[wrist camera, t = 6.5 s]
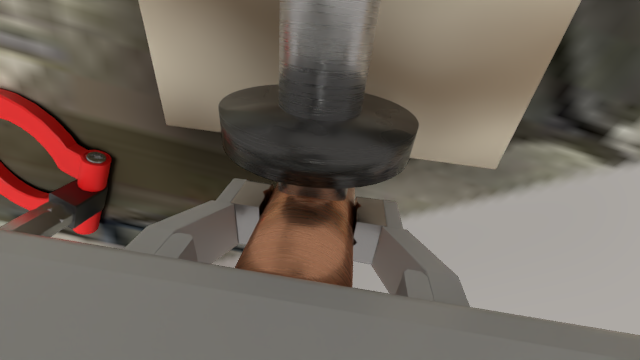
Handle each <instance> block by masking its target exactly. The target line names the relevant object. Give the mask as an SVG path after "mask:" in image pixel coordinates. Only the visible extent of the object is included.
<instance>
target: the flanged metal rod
mask: <svg viewBox="0 0 640 360" xmlns="http://www.w3.org/2000/svg"><path fill="white" fill-rule="evenodd" d="M380 2H381V0H280V13H279V84H277V85H264V86H257V87H251V88H246V89H242V90H239V91H236V92H233V93H231V94H229V95H227V96H226V97H224V98H223V99H222V100H221V101H220V103H219V105H218V108H219V118H220V126H221V135H222V144H223V148H224V150H225V152H226V154H227V155H228V156H229V158H230V159H232V160H233V161H234V162H235V163H236V164H238V165H239V166H241V167H242V168H244V169H246V170H248V171H250V172H252V173H254V174H256V175H259V176H261V177H264V178H267V179H270V180H273V181H277V182H278V183H277V185H276V187H275V189H274V191H273V193H272V195H271V197H270V199H269V201H268V203H267V205H266V207H265V209H264V211H263V213H262V215H261V217H260V219H259V221H258V223H257V225H256V227H255V229H254V231H253V233H252V235H251V237H250V239H249V241H248V243H247V245H246V246H245V248H244V250H243V252H242V254H241V256H240V258H239V260H238V262H237V264H236V266H235V268H237V269H243V270H249V271H255V272H262V273H268V274H274V275H280V276H286V277H292V278H298V279H304V280H310V281H316V282H322V283H328V284H334V285H340V286H346V287H352V278H353V237H354V196H355V187H363V186H368V185H372V184H377V183H380V182H383V181H386V180H388V179H390V178H392V177H394V176H396V175H397V174H399V173H400V172H401V171H402V170H403V169H404V168H405V167H406V165H407V163H408V161H409V158H410V154H411V151H412V148H413V144H414V141H415V138H416V134H417V131H418V128H419V122H418V120H417V118H416V117H415V116H414V115H413V114H412V113H411V112H410V111H409V110H407V109H406V108H404V107H402V106H400V105H398V104H396V103H394V102H392V101H389V100H386V99H384V98H381V97H378V96H374V95H371V94H367V93H365V88H366V82H367V77H368V71H369V65H370V59H371V54H372V48H373V42H374V36H375V31H376V25H377V19H378V14H379V8H380Z"/></svg>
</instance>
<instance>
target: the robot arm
mask: <svg viewBox="0 0 640 360" xmlns="http://www.w3.org/2000/svg"><path fill="white" fill-rule="evenodd" d="M273 191H274V186H273V184H269V183H263V182H257V181H251V180H245V179H238V178H235V179H233V180H232V181H231V182H230V183H229V185H228V186H227V187H226V188H225V190H224V191H223V192H222V193H221V195H220V196H219V197H218V198H217V200H216V201H213V200H211V201H209V202H206V203H204V204H201V205H199V206H196V207H194V208H191V209H189V210H186V211H184V212H182V213H179V214H177V215H174V216H172V217H169V218H167V219H164V220H162V221H159V222H157V223H154V224H152V225H149V226H147V227H146V228H145V229H144V230H143V231H142V232H141V233H140V234H139V235H138V236H137V237H136V238H134V239H133V240H132V241H131V242H130V243H129V244H128V245H127V246H126V247H125V248H124V249H117V248H111V247H105V246H99V245H93V244H87V243H81V242H75V241H69V240H63V239H57V238H51V237H45V236H39V235H33V234H27V233H21V232H15V231H9V230H3V229H0V360H640V335H635V334H629V333H623V332H617V331H610V330H605V329H599V328H593V327H587V326H581V325H575V324H569V323H562V322H556V321H550V320H545V319H539V318H532V317H526V316H521V315H514V314H509V313H502V312H497V311H490V310H485V309H479V308H473V307H470V306H469V303H468V301H467V299H466V295H465V293H464V290H463V288H462V285H461V283H460V280H459V278H458V276H457V275H456V274H455V273H454V272H453V271H451V270H450V269H449V268H448V267H447V266H446V265H445V264H444V263H443V262H441V260H439V259H438V258H437V257H436V256H435V255H434V254H433V253H432V252H431V251H430V250H428V249H427V248H426V247H425V246H424V245H423V244H422V243H421V242H420V241H419V240H418V239H416V238H415V237H414V236H413V235H412V234H411V233H410V232H409V231H408V230H404V229H403V227H402V222H401V218H400V213H399V209H398V204H397V202H396V201H389V200H379V199H371V198H363V197H356V200H355V204H354V237H353V261H356V262H361V263H366V264H371V265H372V267H373V268H374V270H375V272H376V273H377V275H378V276H379V278H380V279H381V281H382V282H383V284H384V286H385V287H386V289H387V290H388V292H389V293H390V294H388V293H382V292H375V291H370V290H363V289H358V288H352V287H346V286H340V285H334V284H328V283H322V282H316V281H310V280H304V279H298V278H292V277H286V276H280V275H274V274H268V273H262V272H255V271H249V270H243V269H237V268H231V267H225V266H219V265H213V264H212V263H213V262H214V261H216V260H217V259H218V258H220V257H221V256H223V255H224V254H225V253H227V252H228V251H229V250H231V249H232V248H234V247H235V246H236V245H238V243H241V244H247V243H248V241H249V239H250V237H251V235H252V233H253V231H254V229H255V227H256V225H257V223H258V221H259V219H260V217H261V215H262V213H263V211H264V209H265V207H266V205H267V203H268V201H269V199H270V197H271V195H272V193H273Z"/></svg>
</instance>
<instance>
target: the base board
mask: <svg viewBox="0 0 640 360" xmlns="http://www.w3.org/2000/svg"><path fill="white" fill-rule="evenodd" d="M138 1H139V5H140V10H141V14H142V18H143V23H144V27H145V32H146V36H147V41H148V45H149V49H150V54H151V58H152V63H153V67H154V72H155V76H156V81H157V85H158V89H159V94H160V98H161V103H162V107H163V112H164V116H165V120H166V125H171V126H178V127H185V128H193V129H200V130H208V131H215V132H221V126H220V118H219V108H218V105H219V103H220V101H221V100H222V99H223V98H224V97H226V96H227V95H229V94H231V93H233V92H236V91H239V90H242V89H246V88H251V87H257V86H264V85H277V84H279V13H280V0H138ZM580 2H581V0H381V2H380V8H379V14H378V19H377V25H376V31H375V36H374V42H373V48H372V54H371V59H370V65H369V71H368V77H367V82H366V88H365V93H367V94H371V95H374V96H378V97H381V98H384V99H386V100H389V101H392V102H394V103H396V104H398V105H400V106H402V107H404V108H406V109H407V110H409V111H410V112H411V113H412V114H413V115H414V116H415V117H416V118H417V120H418V122H419V128H418V131H417V134H416V138H415V141H414V144H413V148H412V151H411V154H410V158H415V159H422V160H429V161H437V162H444V163H451V164H459V165H466V166H474V167H481V168H488V169H496V168H497V166H498V164H499V162H500V160H501V158H502V156H503V154H504V152H505V150H506V148H507V146H508V144H509V142H510V140H511V138H512V136H513V134H514V132H515V130H516V128H517V126H518V124H519V123H520V121H521V119H522V117H523V115H524V113H525V111H526V109H527V107H528V105H529V103H530V101H531V99H532V97H533V95H534V93H535V91H536V89H537V87H538V85H539V83H540V81H541V79H542V77H543V75H544V73H545V71H546V69H547V67H548V65H549V63H550V61H551V59H552V57H553V55H554V53H555V51H556V49H557V47H558V45H559V43H560V41H561V39H562V37H563V35H564V34H565V32H566V30H567V28H568V26H569V24H570V22H571V20H572V18H573V16H574V14H575V12H576V10H577V8H578V6H579V4H580Z"/></svg>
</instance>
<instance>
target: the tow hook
mask: <svg viewBox="0 0 640 360" xmlns="http://www.w3.org/2000/svg"><path fill="white" fill-rule="evenodd" d="M0 118H1V119H5V120H8V121H10V122H12V123H14V124H16V125H18V126H20V127H21V128H22V129H24V130H25V131H27V132H28V133H29V134H31V135H32V136H33V137H34V138H35V139H36V140H37V141H38V142H39V143H41V144H42V145H43V146H44V147H45V149H46V150H47V151H48V153H49V154H50V155H51V156H52V158H53V159H54V161H55V163H56V165H57V166H58V168H59V169H60V170H62V171H63V172H65V173H67V174H69V175H71V176H72V177H74V178H76V179H77V180H75V181H73V182H71V183H69V184H67V185H65V186H63V187H61V188H59V189H57V190H55V191H53V192H51V193H45V192H42V191H39V190H37V189H35V188H33V187H31V186H29V185H27V184H26V183H24V182H23V181H21V180H20V179H18V178H17V177H16V176H15V175H14V174H12V173H11V172H10V171H9V170H8V169H7V168H6V167H5V166H4V165H3V164H2V162H1V161H0V194H1V195H3V196H5V197H6V198H8V199H9V200H11V201H12V202H14V203H15V204H18V205H20V206H22V207H24V208H26V209H28V210H30V211H29V212H27V213H25V214H23V215H22V216H20V217H18V218H16V219H14V220H12V221H10V222H8V223H6V224H4V225H3V226H1V227H0V229H3V230H9V231H15V232H21V233H27V234H33V235H39V236H45V237H52V236H53V235H55V234H56V233H58V232H59V231H60V230H61V229H64V228H65V227H67V226H68V227H70V228H72V229H73V230H74V231H75V232H76V233H78V234H90V233H93V232H95V231H96V230H97V229H98V227H99V221H100V216H101V211H102V209H103V208H104V206H105V201H106V196H107V191H108V183H107V180H108V175H109V170H110V164H111V156H110V155H109V154H107V153H105V152H103V151H100V150H87V149H85V148H83V147H81V146H80V145H78V144H77V143H76V141H75V140H74V139H73V137H72V136H71V135H70V134H69V133H68V132H67V131H66V130H65V129H64V128H63V126H62V125H61V124H60V123H59V122H58V121H57V120H56V119H55V118H53V117H52V116H51V115H49V114H48V113H47V112H45V111H44V110H43V109H41V108H40V107H39V106H38V105H36V104H35V103H33V102H31V101H29V100H27V99H25V98H23V97H22V96H20V95H18V94H16V93H13V92H10V91H7V90H4V89H0Z"/></svg>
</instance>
